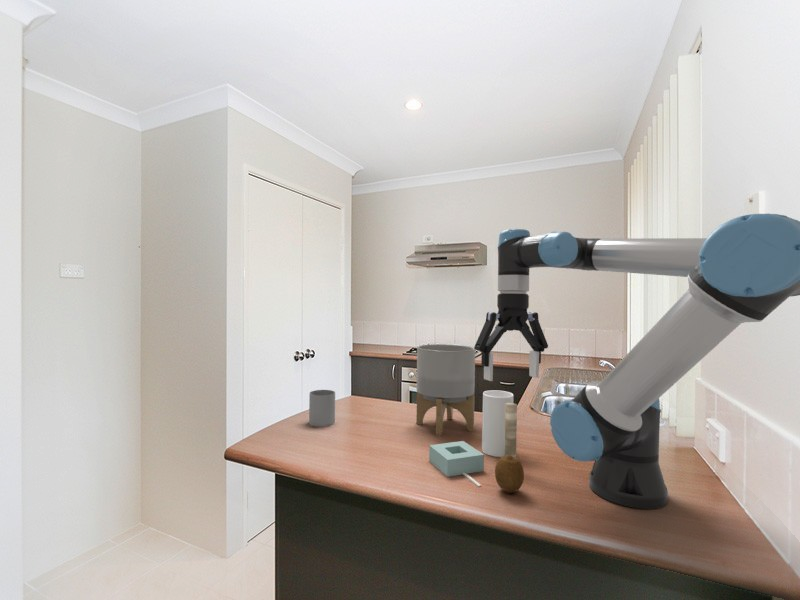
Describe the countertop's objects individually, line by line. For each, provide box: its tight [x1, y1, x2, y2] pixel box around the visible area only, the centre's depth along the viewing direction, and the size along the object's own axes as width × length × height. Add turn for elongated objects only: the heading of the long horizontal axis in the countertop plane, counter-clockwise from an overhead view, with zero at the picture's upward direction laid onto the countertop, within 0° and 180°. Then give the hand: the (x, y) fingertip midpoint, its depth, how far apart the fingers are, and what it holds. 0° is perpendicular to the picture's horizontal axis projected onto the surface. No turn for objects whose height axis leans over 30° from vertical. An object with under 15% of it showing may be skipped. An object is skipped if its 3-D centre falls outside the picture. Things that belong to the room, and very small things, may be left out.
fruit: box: [494, 455, 525, 493], centre depth 90 cm, size 6×6×8 cm
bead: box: [428, 440, 485, 478], centre depth 104 cm, size 10×10×4 cm
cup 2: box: [481, 389, 514, 458], centre depth 114 cm, size 8×8×16 cm
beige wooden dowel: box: [504, 402, 518, 458], centre depth 103 cm, size 3×3×16 cm
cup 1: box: [308, 389, 336, 428], centre depth 137 cm, size 8×8×10 cm
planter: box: [415, 343, 476, 437], centre depth 135 cm, size 19×19×26 cm
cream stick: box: [462, 473, 482, 488], centre depth 96 cm, size 7×1×1 cm, turn 21°
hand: (511, 378), depth 103 cm, fingers open, 13 cm apart
